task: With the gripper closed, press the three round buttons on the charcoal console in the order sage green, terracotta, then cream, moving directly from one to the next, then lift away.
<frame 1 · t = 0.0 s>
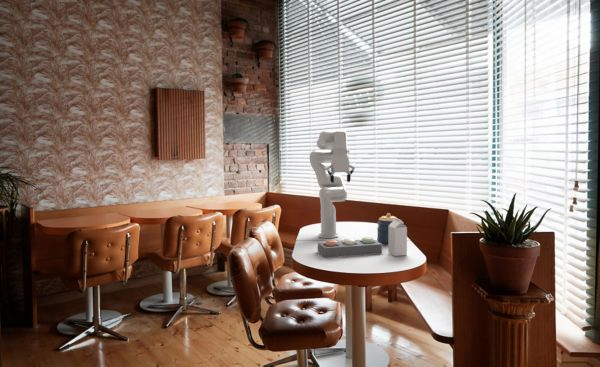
hand: (340, 182, 242), 37 cm above the table, tool pointing down, fingers open, 9 cm apart
button sage: (367, 240, 230), point 6 cm above the table, slide at 0.0 cm
canister: (388, 242, 250), on the table
button cream: (349, 242, 228), point 6 cm above the table, slide at 0.0 cm
button terracotta: (331, 243, 225), point 6 cm above the table, slide at 0.0 cm
console: (349, 252, 228), on the table
milk carton: (397, 254, 224), on the table
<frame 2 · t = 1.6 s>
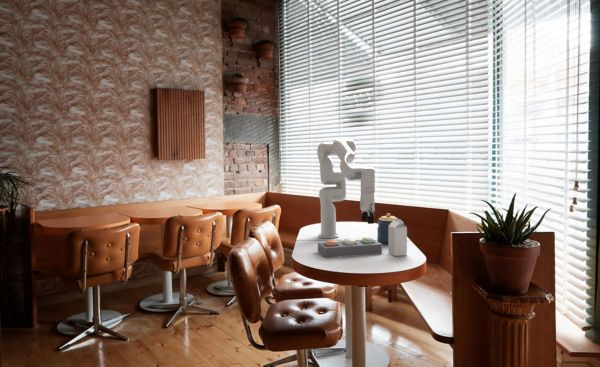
hand: (367, 222, 229), 16 cm above the table, tool pointing down, fingers open, 7 cm apart
nothing on the table moved.
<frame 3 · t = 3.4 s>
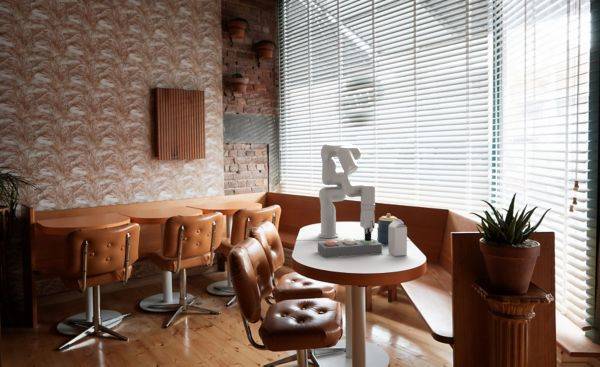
hand: (367, 240, 230), 6 cm above the table, tool pointing down, fingers closed
button sage: (367, 242, 230), point 5 cm above the table, slide at 1.0 cm, touching gripper
everything else where it was.
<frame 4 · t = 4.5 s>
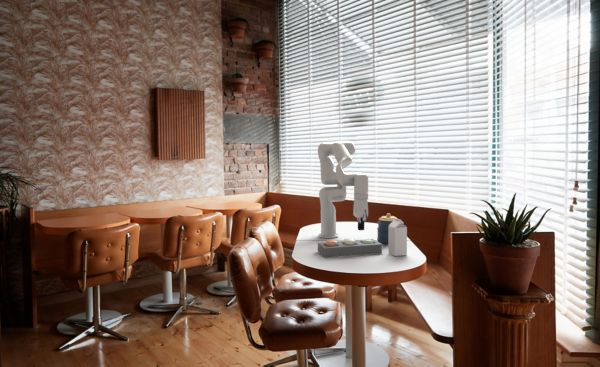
hand: (361, 229, 229), 12 cm above the table, tool pointing down, fingers closed
button sage: (367, 242, 230), point 5 cm above the table, slide at 1.1 cm
everything else where it was.
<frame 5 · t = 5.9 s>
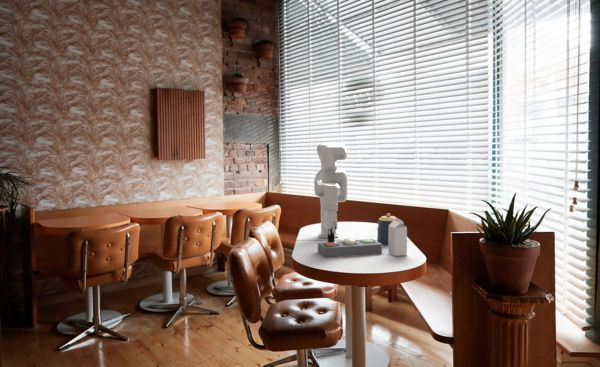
hand: (331, 241, 225), 7 cm above the table, tool pointing down, fingers closed
button terracotta: (331, 244, 225), point 5 cm above the table, slide at 0.3 cm, touching gripper
everything else where it was.
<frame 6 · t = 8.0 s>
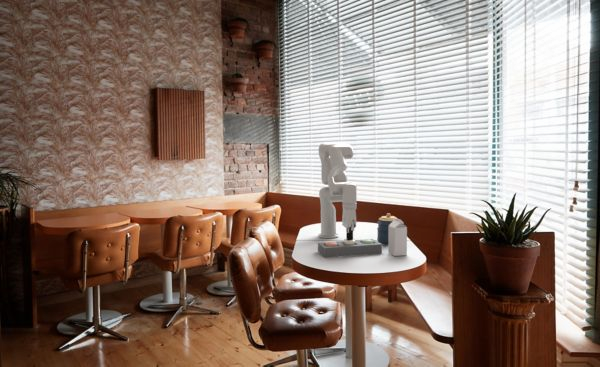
hand: (349, 239, 227), 7 cm above the table, tool pointing down, fingers closed
button cream: (349, 242, 228), point 6 cm above the table, slide at 0.0 cm, touching gripper
button terracotta: (331, 245, 226), point 5 cm above the table, slide at 1.1 cm
everything else where it was.
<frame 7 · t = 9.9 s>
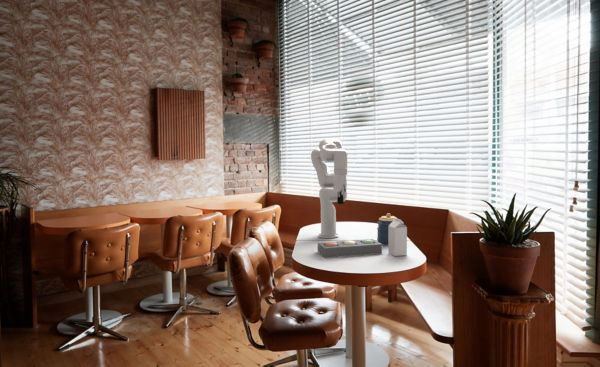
hand: (340, 203, 241), 25 cm above the table, tool pointing down, fingers closed
button cream: (349, 244, 228), point 5 cm above the table, slide at 1.1 cm
everything else where it was.
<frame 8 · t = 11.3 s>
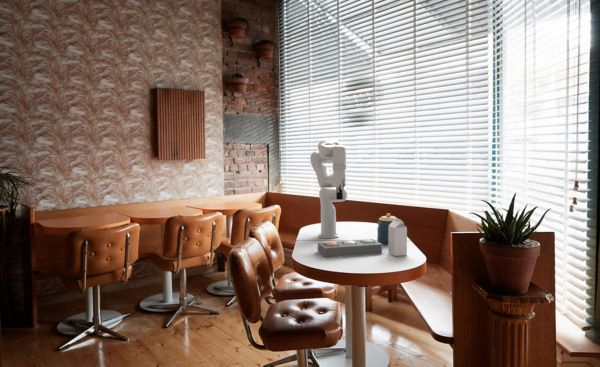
hand: (339, 199, 242), 27 cm above the table, tool pointing down, fingers closed
nothing on the table moved.
at the end: button sage slide at 1.1 cm; button terracotta slide at 1.1 cm; button cream slide at 1.1 cm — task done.
